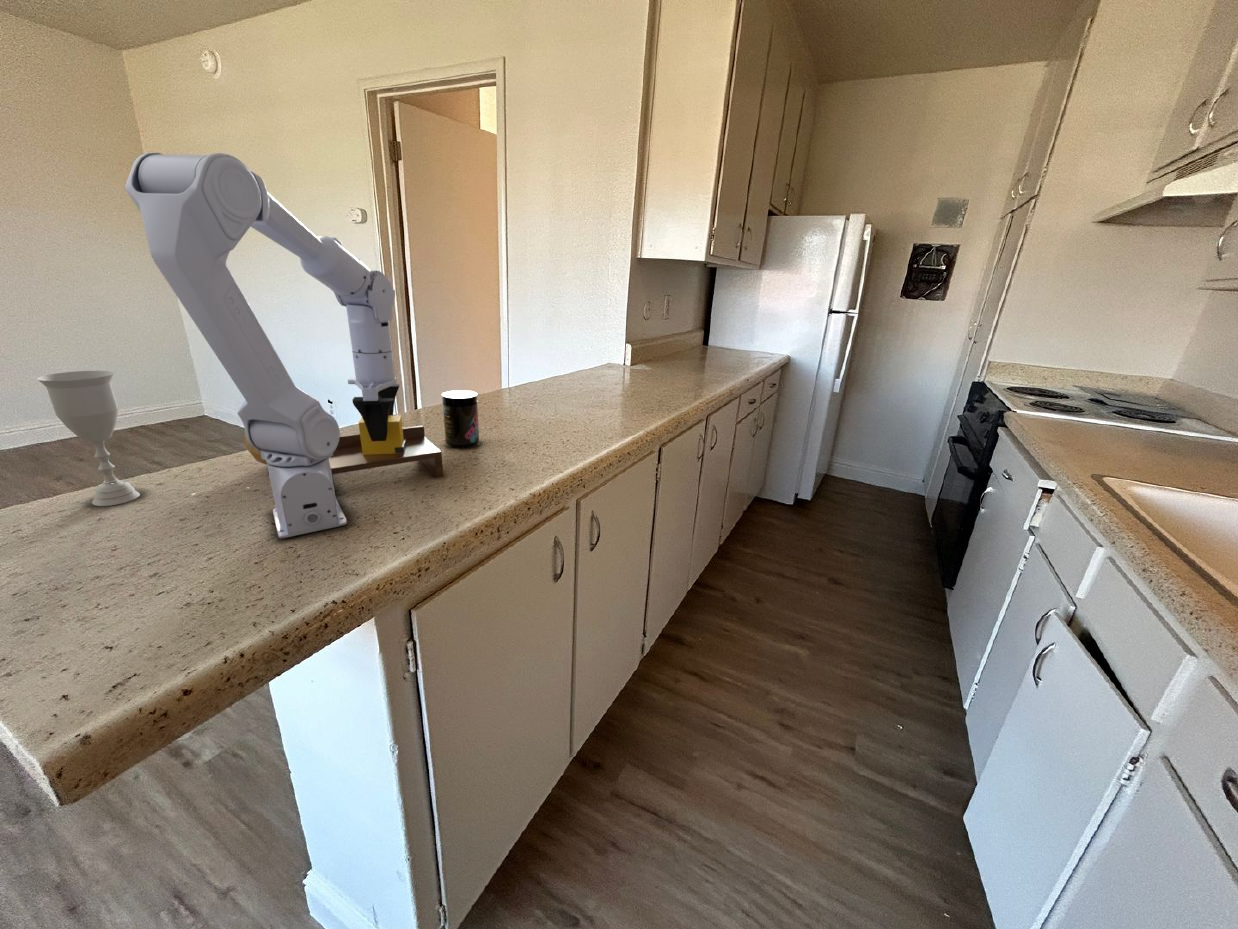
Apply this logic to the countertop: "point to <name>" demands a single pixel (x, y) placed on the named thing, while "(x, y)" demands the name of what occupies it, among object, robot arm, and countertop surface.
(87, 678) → the countertop surface
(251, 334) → the robot arm
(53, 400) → the chalice
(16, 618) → the countertop surface
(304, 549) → the countertop surface
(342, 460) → the shelf
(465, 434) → the supplement container
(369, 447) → the tape measure
